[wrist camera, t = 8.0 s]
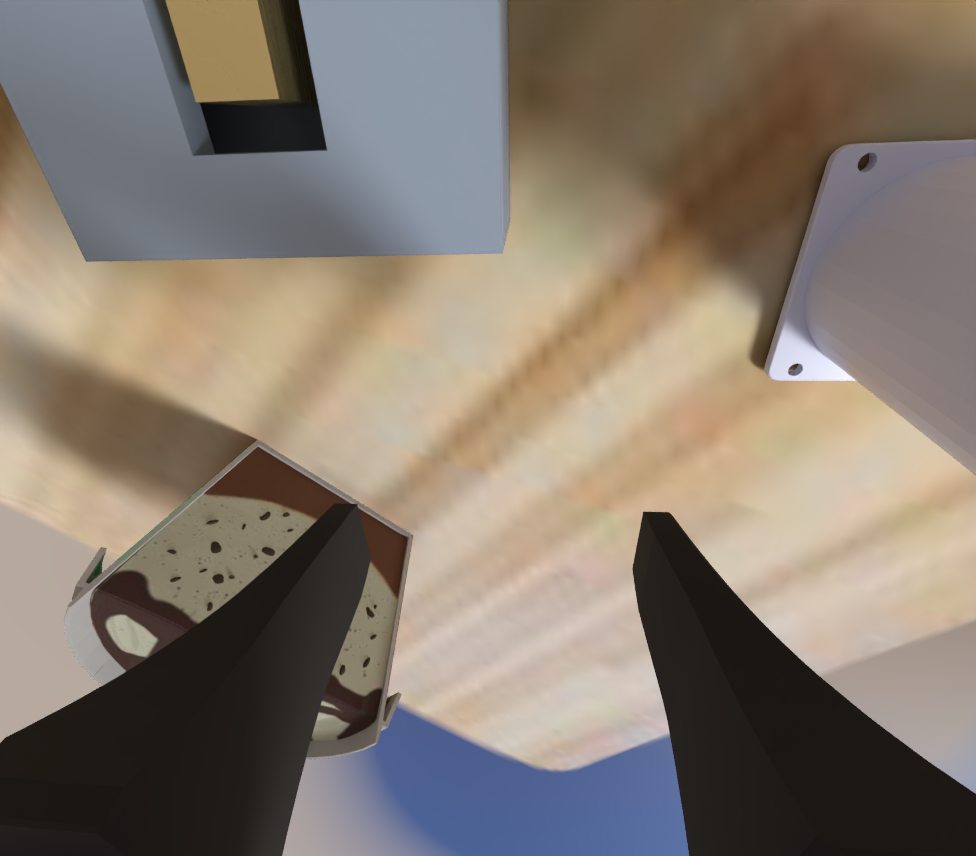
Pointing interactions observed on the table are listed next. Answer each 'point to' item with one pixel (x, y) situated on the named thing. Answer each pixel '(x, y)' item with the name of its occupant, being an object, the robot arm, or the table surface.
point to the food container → (232, 566)
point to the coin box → (269, 133)
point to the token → (245, 52)
